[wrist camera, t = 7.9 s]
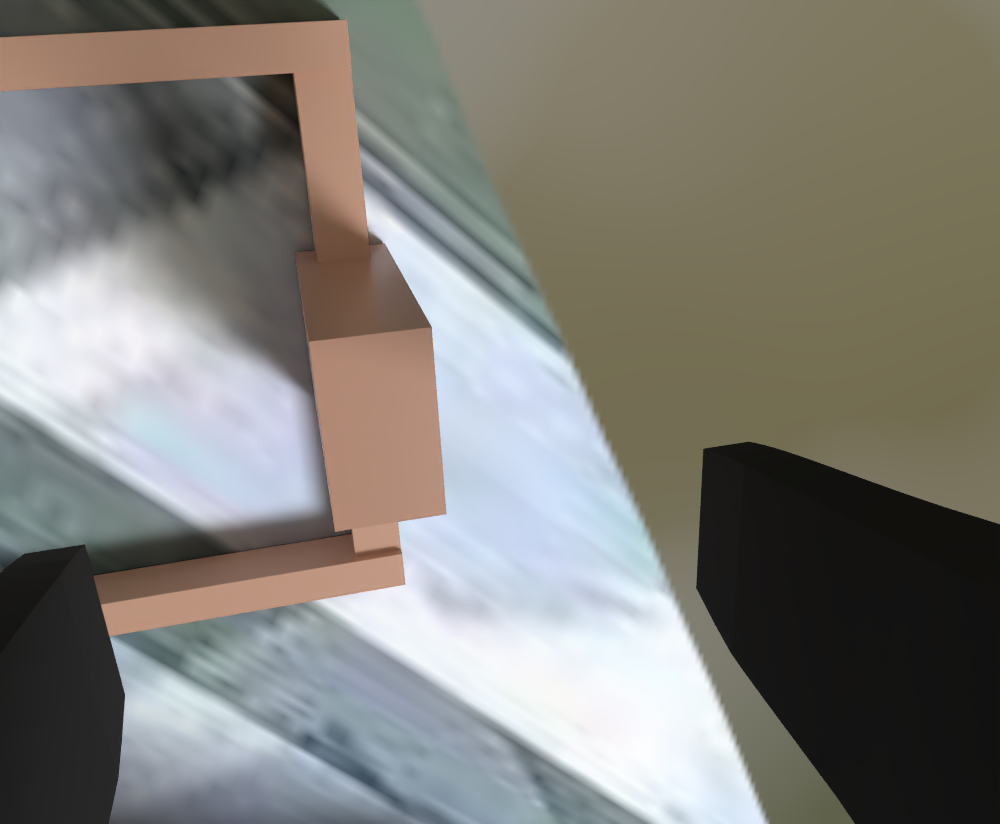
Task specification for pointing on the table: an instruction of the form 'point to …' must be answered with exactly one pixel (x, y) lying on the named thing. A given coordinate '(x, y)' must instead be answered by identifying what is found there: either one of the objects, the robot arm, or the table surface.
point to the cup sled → (327, 317)
